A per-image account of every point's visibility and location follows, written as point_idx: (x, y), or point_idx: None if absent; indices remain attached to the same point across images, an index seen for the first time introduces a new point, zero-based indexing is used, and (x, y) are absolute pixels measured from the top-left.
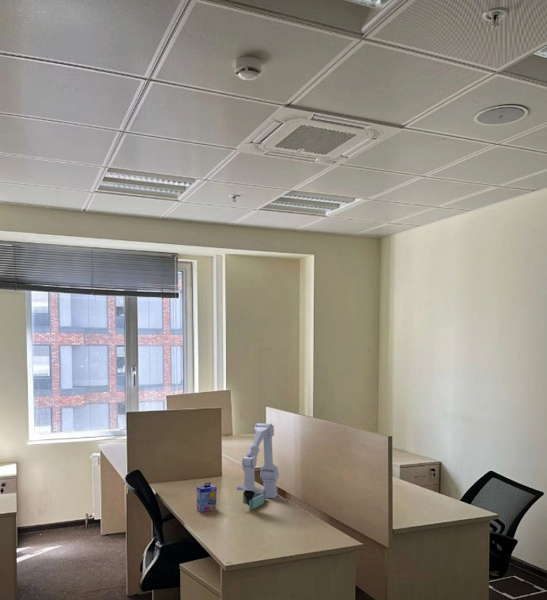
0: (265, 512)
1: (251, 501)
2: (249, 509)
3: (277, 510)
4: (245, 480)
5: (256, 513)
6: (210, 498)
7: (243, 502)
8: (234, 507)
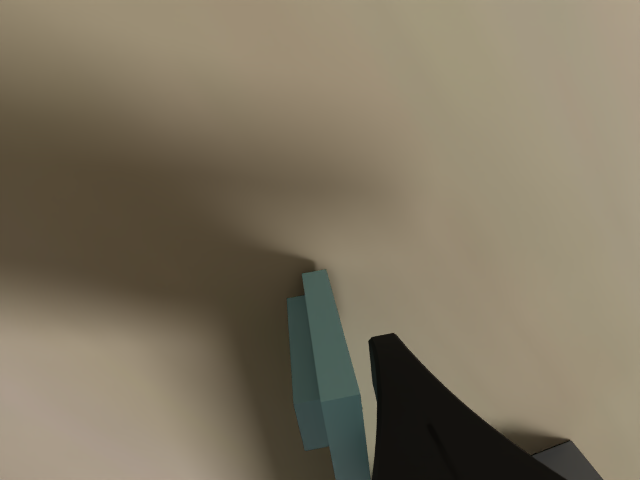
0: (51, 339)
1: (304, 402)
2: (321, 275)
3: (18, 474)
4: None
5: (112, 221)
6: None
7: (569, 441)
8: (603, 260)
